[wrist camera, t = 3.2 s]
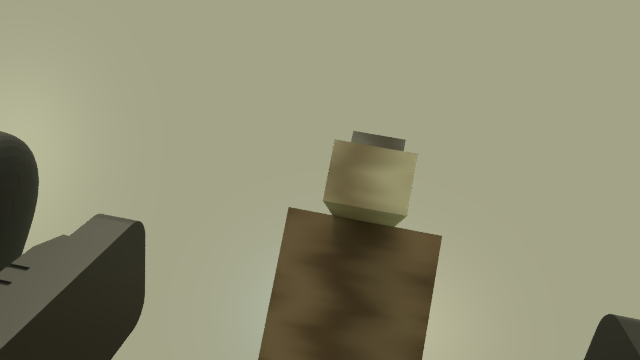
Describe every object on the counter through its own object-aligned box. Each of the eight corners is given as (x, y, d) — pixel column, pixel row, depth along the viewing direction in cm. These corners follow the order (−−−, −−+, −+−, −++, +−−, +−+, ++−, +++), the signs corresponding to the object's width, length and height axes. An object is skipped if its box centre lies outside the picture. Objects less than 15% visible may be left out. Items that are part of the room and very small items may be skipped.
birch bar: (322, 200, 26) (349, 60, 26) (338, 224, 45) (354, 144, 46) (406, 216, 25) (431, 73, 26) (386, 233, 45) (400, 152, 46)
